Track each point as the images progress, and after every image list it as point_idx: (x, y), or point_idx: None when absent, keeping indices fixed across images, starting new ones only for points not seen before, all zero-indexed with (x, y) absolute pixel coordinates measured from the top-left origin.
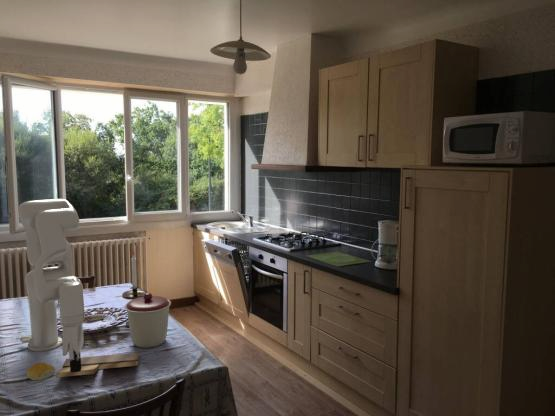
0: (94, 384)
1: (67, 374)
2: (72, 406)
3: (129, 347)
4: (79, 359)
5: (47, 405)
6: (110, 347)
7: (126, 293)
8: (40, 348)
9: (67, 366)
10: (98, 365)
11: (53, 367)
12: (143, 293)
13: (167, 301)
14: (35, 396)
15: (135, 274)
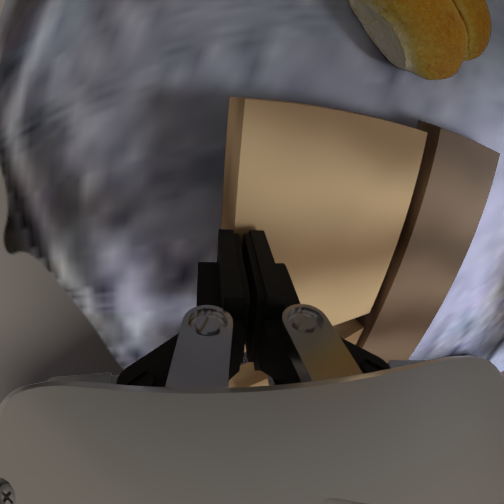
0: (195, 300)
1: (227, 191)
2: (11, 237)
3: (452, 347)
4: (250, 361)
5: (15, 116)
6: (490, 297)
7: None
8: None
9: (431, 156)
10: (354, 316)
11: (442, 75)
12: None
13: None
14: (121, 2)
15: None
